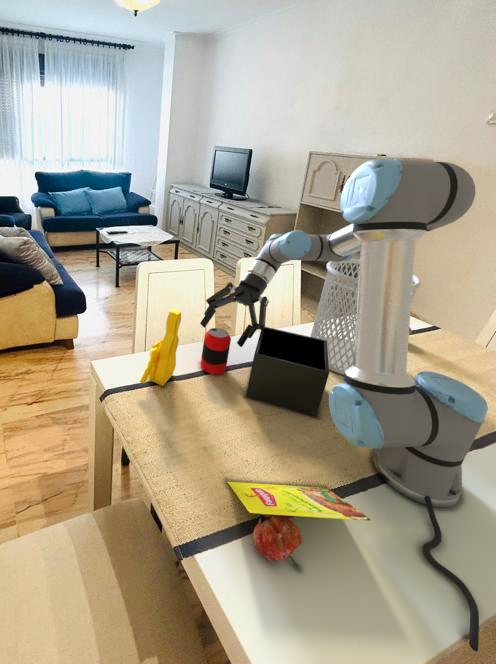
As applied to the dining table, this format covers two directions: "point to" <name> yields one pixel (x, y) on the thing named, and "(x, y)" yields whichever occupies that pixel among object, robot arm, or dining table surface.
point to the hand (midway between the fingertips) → (219, 335)
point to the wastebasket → (340, 347)
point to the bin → (289, 371)
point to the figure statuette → (164, 353)
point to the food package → (294, 501)
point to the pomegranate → (276, 537)
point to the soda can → (215, 351)
